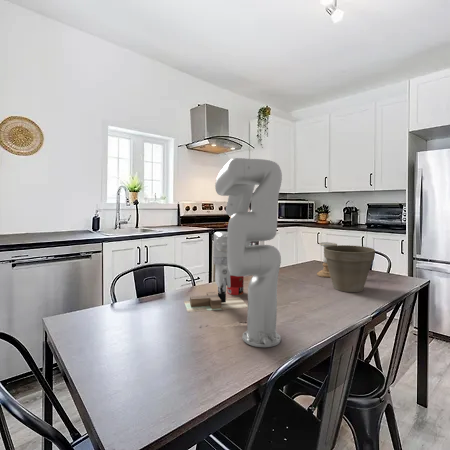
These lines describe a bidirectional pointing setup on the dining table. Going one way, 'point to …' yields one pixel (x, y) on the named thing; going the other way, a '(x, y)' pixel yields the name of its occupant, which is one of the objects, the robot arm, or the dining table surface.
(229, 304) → the board
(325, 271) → the candle holder
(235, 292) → the canned food
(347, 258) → the plant pot
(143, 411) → the dining table surface
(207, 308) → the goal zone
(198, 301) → the t block
